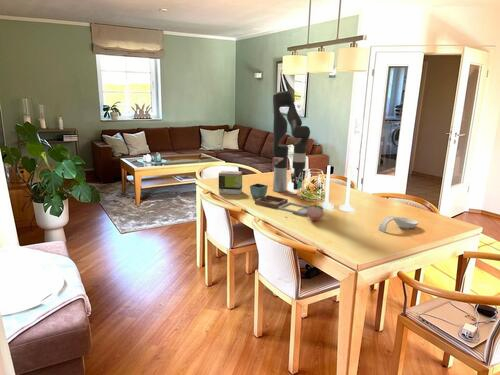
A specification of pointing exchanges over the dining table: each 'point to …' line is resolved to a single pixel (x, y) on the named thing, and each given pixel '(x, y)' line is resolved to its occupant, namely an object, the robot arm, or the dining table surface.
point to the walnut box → (271, 201)
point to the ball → (299, 185)
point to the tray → (300, 212)
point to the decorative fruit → (315, 212)
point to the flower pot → (258, 190)
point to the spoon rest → (398, 223)
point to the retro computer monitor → (230, 182)
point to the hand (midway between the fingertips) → (297, 188)
